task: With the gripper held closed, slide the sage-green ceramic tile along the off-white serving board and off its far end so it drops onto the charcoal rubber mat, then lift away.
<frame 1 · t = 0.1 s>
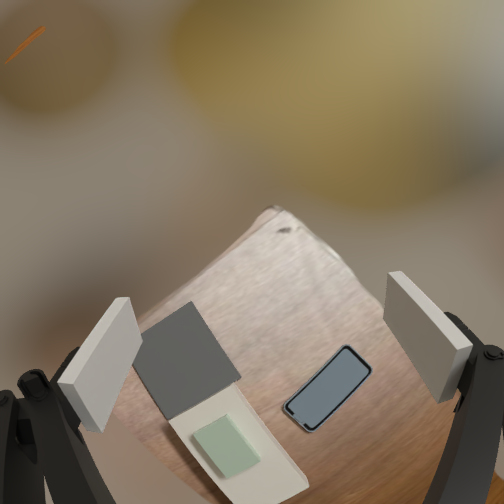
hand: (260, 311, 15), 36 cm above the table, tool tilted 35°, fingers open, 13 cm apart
smartphone: (328, 388, 47), on the table
board: (241, 450, 44), on the table
tile: (228, 444, 41), point 4 cm above the table, touching board
mat: (179, 362, 49), on the table
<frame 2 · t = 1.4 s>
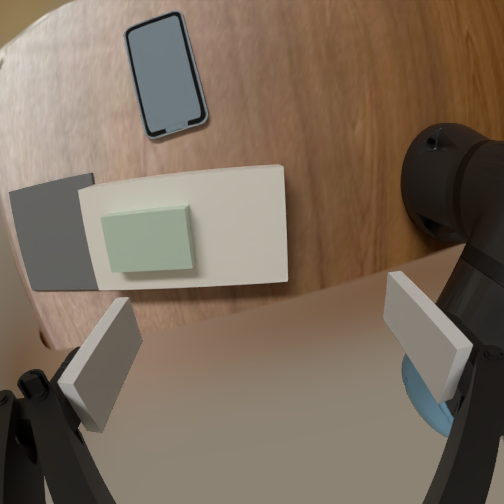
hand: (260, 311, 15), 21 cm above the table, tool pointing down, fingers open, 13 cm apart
smartphone: (165, 72, 30), on the table
board: (185, 224, 35), on the table
tile: (150, 236, 31), point 4 cm above the table, touching board
mat: (56, 237, 35), on the table
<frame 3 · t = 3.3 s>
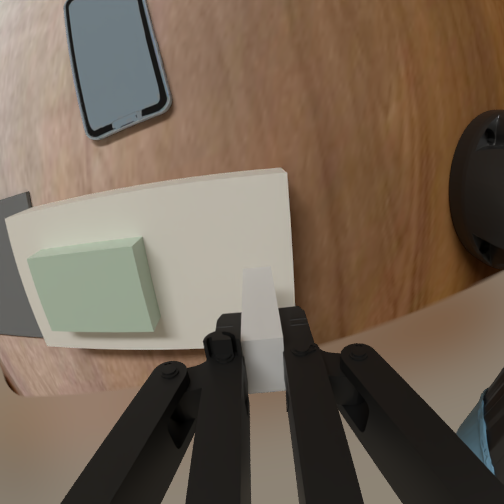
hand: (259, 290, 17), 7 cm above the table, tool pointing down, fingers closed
smartphone: (113, 46, 19), on the table
board: (148, 259, 24), on the table
tile: (96, 282, 20), point 4 cm above the table, touching board
mat: (1, 273, 25), on the table
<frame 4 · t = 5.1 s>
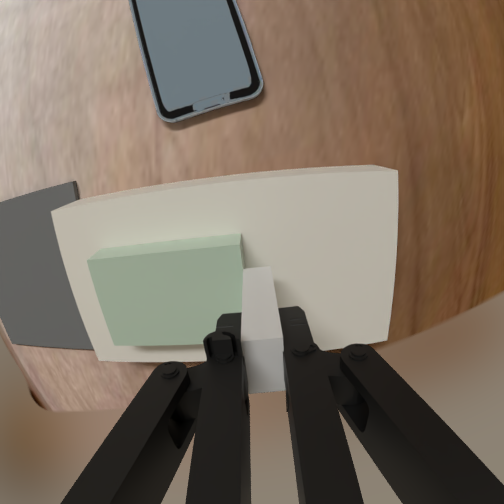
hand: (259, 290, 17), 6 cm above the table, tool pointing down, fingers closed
smartphone: (188, 21, 17), on the table
board: (228, 259, 23), on the table
tile: (174, 287, 19), point 4 cm above the table, touching gripper
mat: (33, 277, 23), on the table
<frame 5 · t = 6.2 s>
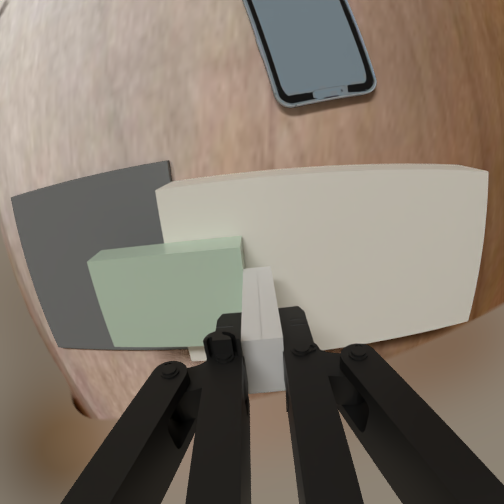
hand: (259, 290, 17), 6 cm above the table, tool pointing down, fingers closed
smartphone: (297, 10, 17), on the table
board: (334, 248, 22), on the table
tile: (175, 288, 19), point 4 cm above the table, touching gripper
mat: (98, 270, 23), on the table
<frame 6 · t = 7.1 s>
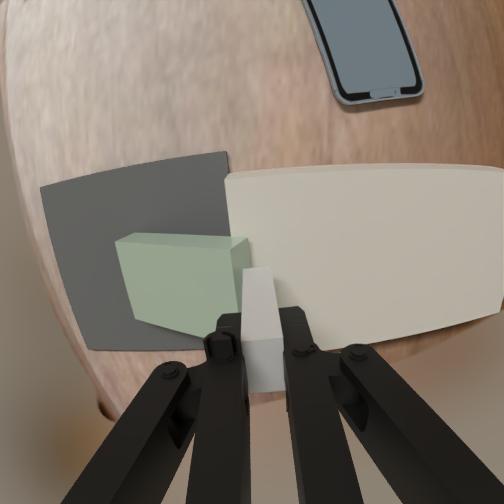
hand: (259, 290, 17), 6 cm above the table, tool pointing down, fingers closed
smartphone: (350, 11, 17), on the table
board: (384, 242, 22), on the table
tile: (191, 278, 20), point 2 cm above the table, tilted 26°, touching gripper
mat: (140, 266, 23), on the table
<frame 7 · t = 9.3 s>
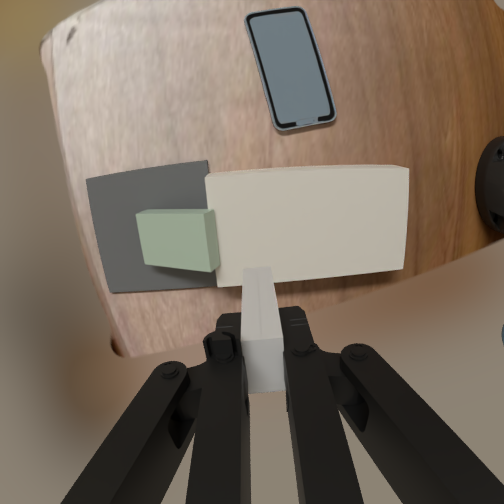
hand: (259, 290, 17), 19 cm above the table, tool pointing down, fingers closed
smartphone: (289, 65, 30), on the table
board: (308, 217, 36), on the table
tile: (181, 235, 34), point 2 cm above the table, tilted 25°, touching board, mat
mat: (152, 231, 36), on the table
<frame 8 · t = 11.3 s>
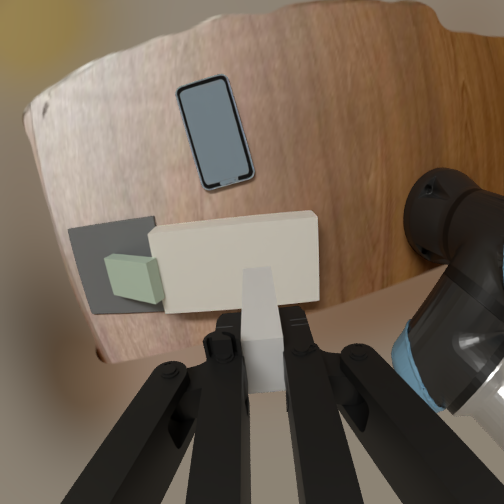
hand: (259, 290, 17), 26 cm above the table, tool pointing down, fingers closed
smartphone: (215, 131, 39), on the table
board: (236, 258, 45), on the table
tile: (137, 274, 43), point 2 cm above the table, tilted 25°, touching board, mat
mat: (118, 269, 45), on the table
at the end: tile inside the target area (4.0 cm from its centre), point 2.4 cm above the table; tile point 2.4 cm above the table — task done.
